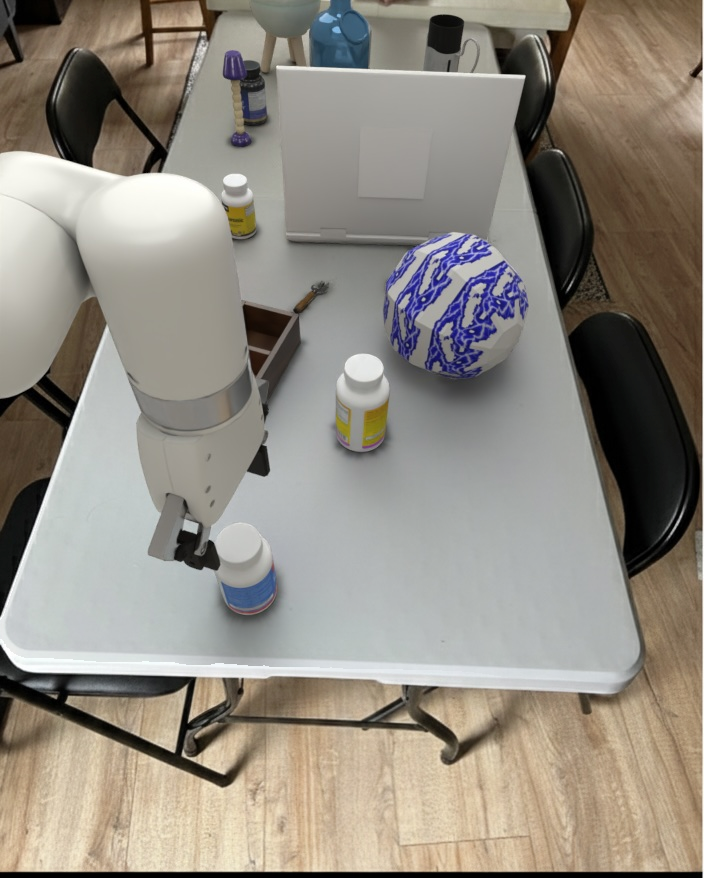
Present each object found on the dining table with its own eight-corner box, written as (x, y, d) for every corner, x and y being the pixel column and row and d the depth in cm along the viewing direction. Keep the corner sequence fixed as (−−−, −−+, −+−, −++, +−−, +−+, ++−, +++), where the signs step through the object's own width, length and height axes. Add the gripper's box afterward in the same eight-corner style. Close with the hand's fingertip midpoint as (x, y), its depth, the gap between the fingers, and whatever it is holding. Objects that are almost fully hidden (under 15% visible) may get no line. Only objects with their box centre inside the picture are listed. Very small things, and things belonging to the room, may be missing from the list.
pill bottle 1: (235, 115, 136) (229, 60, 127) (261, 110, 138) (257, 56, 129) (244, 128, 133) (239, 73, 124) (271, 123, 134) (267, 68, 126)
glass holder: (435, 82, 149) (445, 10, 137) (481, 103, 143) (495, 30, 131) (410, 92, 146) (418, 19, 134) (456, 114, 140) (468, 40, 128)
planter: (321, 85, 146) (320, -29, 129) (252, 84, 145) (242, -31, 128) (320, 56, 156) (320, -54, 138) (256, 55, 155) (247, -56, 137)
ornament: (446, 364, 72) (336, 276, 80) (463, 429, 89) (371, 351, 98) (563, 250, 73) (443, 176, 82) (557, 335, 91) (458, 267, 100)
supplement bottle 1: (219, 234, 110) (211, 182, 102) (238, 219, 112) (231, 167, 105) (244, 244, 108) (238, 192, 100) (262, 228, 111) (258, 177, 103)
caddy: (191, 409, 85) (184, 381, 81) (245, 328, 95) (241, 299, 91) (252, 427, 83) (248, 400, 79) (300, 342, 94) (299, 314, 89)
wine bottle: (298, 98, 142) (293, -66, 118) (345, 84, 147) (348, -76, 123) (334, 122, 136) (335, -46, 112) (381, 106, 141) (392, -58, 117)
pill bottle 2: (288, 594, 69) (282, 548, 60) (242, 627, 67) (229, 584, 58) (257, 554, 72) (247, 505, 63) (212, 585, 70) (195, 537, 61)
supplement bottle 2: (390, 421, 85) (398, 354, 75) (378, 459, 81) (385, 393, 71) (343, 410, 86) (345, 342, 76) (329, 447, 82) (329, 380, 72)
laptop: (469, 171, 125) (500, 8, 102) (485, 251, 109) (526, 78, 86) (296, 165, 124) (289, -1, 102) (286, 244, 108) (275, 69, 86)
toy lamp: (230, 135, 131) (219, 48, 117) (252, 134, 131) (244, 47, 118) (231, 147, 128) (220, 58, 115) (254, 146, 128) (245, 57, 115)
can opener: (298, 315, 97) (297, 310, 96) (286, 309, 98) (286, 303, 97) (332, 286, 102) (333, 281, 101) (321, 281, 102) (321, 275, 101)
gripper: (203, 282, 45) (233, 427, 59) (60, 463, 35) (136, 589, 49) (298, 306, 44) (307, 450, 57) (178, 502, 34) (222, 620, 47)
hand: (228, 513), depth 53 cm, fingers open, 9 cm apart
